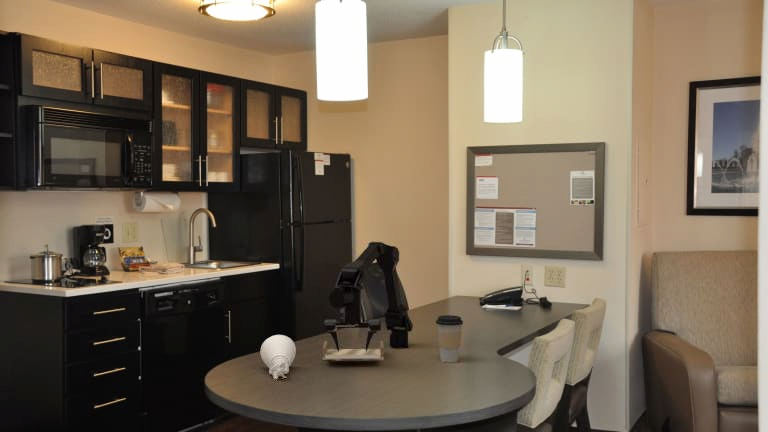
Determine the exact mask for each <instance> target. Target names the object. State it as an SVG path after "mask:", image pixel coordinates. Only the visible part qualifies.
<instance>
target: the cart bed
mask: <svg viewBox="0 0 768 432" xmlns="http://www.w3.org/2000/svg"><path fill="white" fill-rule="evenodd" d="M321 350H322V351H321V352H322V353H321V355H322V356H321V357H322V358H321V359H323V360H336V361H342V360H341V359H325V355H380V358H379V359H365V360H364V361H385V358H384V357H385V355H384V354H385V353H384V351H385V350H384V341H383V340H379V348H368V349H367V351H366V348H355V349H354V348H351V349H349V348H339V351H338V350H337V348H336V349H335V348H334V349H333V348H330V349H329V348H328V340H324V341H323V346H322V348H321Z"/></svg>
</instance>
